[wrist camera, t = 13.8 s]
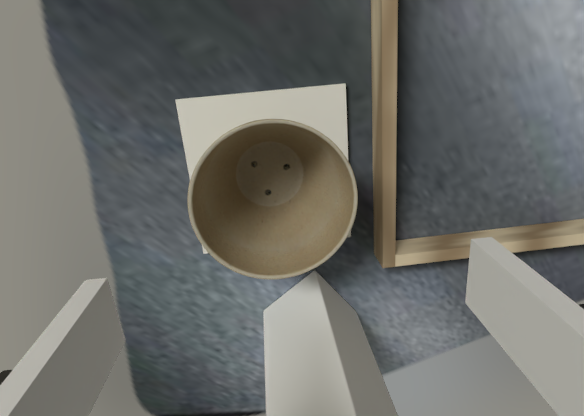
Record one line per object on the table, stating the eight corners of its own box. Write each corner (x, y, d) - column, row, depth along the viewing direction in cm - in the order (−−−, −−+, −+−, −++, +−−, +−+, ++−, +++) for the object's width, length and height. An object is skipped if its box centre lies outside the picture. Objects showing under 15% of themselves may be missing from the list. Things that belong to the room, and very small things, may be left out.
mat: (344, 83, 28) (345, 83, 28) (349, 234, 33) (350, 236, 32) (176, 99, 28) (175, 99, 27) (204, 251, 32) (203, 253, 32)
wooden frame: (745, -78, 27) (791, -91, 24) (664, 219, 35) (693, 231, 32) (370, -48, 26) (381, -60, 23) (374, 253, 33) (382, 268, 31)
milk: (306, 349, 36) (369, 727, 16) (261, 309, 34) (268, 681, 14) (357, 310, 35) (497, 662, 15) (315, 267, 33) (407, 602, 13)
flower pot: (215, 240, 31) (203, 289, 25) (192, 113, 28) (171, 129, 21) (338, 226, 32) (360, 270, 25) (332, 98, 28) (355, 110, 21)
